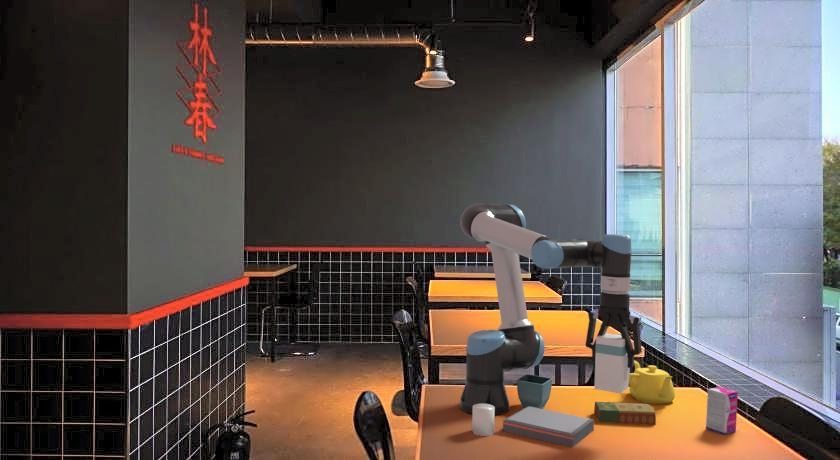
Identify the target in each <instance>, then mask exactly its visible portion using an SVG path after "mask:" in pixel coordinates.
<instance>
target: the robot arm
mask: <svg viewBox="0 0 840 460" xmlns="http://www.w3.org/2000/svg"><path fill="white" fill-rule="evenodd" d="M459 223H460V228H461V231H462V232H463V233H464V235H465V236H466V237H468V238H469V239H472V240H475V241H477V242H479V243H480V242H481V243H482V242H485V247H486V248H488V249H489V250H490V251H491V256H492V257H491V258H492V264H493V265H492V266H493V271H494V280H495V286H496V294H497V299H498V307H499V314H500V322H501V324H499V326H498V328H497V329H488V330H486V329H484V330H477V331H474V332H473V333H471V334H469V336H468V337H467V340H466V348H465V352H466V363H465V364H466V371H465V376H466V377H465V385H464V388H463V391H462V394H461V396H460V400H459V408H460V409H461V410H462V411H463V412H466V413H469V414H472V415H473V405H475V404H490V405H493V406H494V407H495V416H499V415H503V414H506V413H508V412H509V411H510V400H509V398H508V393H507V390H506V386H505V372H512V371H517V370H528V369H529V368H534V367H536V366H537V365H539V364H540V363H541V361H542V359H543V358H544V356H545V352H546V350H545V347H546V346H545V341H544V338H543V336H541V334H540V332H538V330H537V331H536V330H535V325H534V323H533V322H531V321H530V320H529V319H528V311H527V304H526V296H525V290H524V284H523V277H522V270H521V263H520V259H519V258H520V257H519V255H520V256H522V257H525V258H528V259H529V260H531V261H532V262H533V263H534V265H535V266H536V267H538V268H540V269H547V270H552V269H565V268H582V267H583V268H585V267H586V268H587V267H588V268H596V269H600V290H601V292H600V299H599V308H598V310H591V311H588V312H587V316H588V326H587V331H586V340H585V348H589V349H590V350H591V352H592V353H591V361H592V362H593V363H595V356H596V353H595V349H596V338H595V332H596V325H597V319H598V318H600V319H601V321H602V322H601V324H600V327H599V329H598V332H597V335H596V337H597V336H603V335H605V333H607V330H608V329H609V327H614V328H617V329H618V331H619V333H620V335H621V336H622V339H625V348H626V351H627V355H625V357H624V380H625V381H627V380H628V379H629V378H630V373H631V369H632V368H633V367H635V364H634V360H635V356H638V355H640V354H641V353H642V352H643V349H642V341H641V340H642V339H641V338H642V337H641V328H640V324H641V321H642V316H640V315H634V314H631V311H630V302H631V301H630V299H631V298H630V294H629V292H630V291H631V264H632V252H633V251H632V238H631V236H630V235H627V234H616V233H614V234H612V233H611V234H608V233H607V234H603V235H602V238H601V240H593V239H586V238H576V239H575V238H574V239H562V240H561V239H556V238H553V237H550V236H547V235H544V234H542V233H538V232H536V231H533V230H531V229H528V228H526V227H527V221H526V218H525V215H524V213H523V211H522V210H521V209H520V208H518V206H516V205H515V204H508V203H483V202H479V203H474V204H473V203H472V204H470V205H469V206H468V207H466V208H465V209H464V211H463V212H462V214H461V215H460V221H459ZM629 320H630V323H631V325H632V326H631V327H632V328H631V329H632V338H633V342H632V339H631V336H630V333H629V331H628V326H627V322H628V321H629ZM629 336H630V337H629ZM594 338H595V340H594Z"/></svg>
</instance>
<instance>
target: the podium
mask: <svg viewBox="0 0 840 460" xmlns="http://www.w3.org/2000/svg"><path fill="white" fill-rule="evenodd" d="M594 423H595V420H594V419H593V418H589V417H584V416H579V415H574V414H569V413H563V412H558V411H555V410H554V411H553V410H549V409H544V408H541V409H540V408H535V407H530V406H527V407H526V408H524V407H523V408H522V409H520V410H519V411H517V412H515V413H513V414H512V415H510V416H508V417H507V418H504V419H503V420H502V432H506V433H510V434H513V435H518V436H522V437H527V438H531V439H536V440H540V441H544V442H548V443H553V444H556V445H562V446H565V447H569V448H574V447H575V446H576V445H577V444H579V443H580V442H581V441H582V440H584V439H585V438H586V437H588V435H590V434H592V433H593V431H594V429H595V424H594Z"/></svg>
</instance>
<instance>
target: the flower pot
mask: <svg viewBox="0 0 840 460" xmlns="http://www.w3.org/2000/svg"><path fill="white" fill-rule="evenodd" d="M515 381H516V389H517V390H516V391H517V396H518V400H519V401H520V404H521V405H522V407H523V409H524V408H526V407H527V406H530V407H535V408H540V409H544V408H545V407H546V405H547V403H548V401H549V399H550V397H551V393H552V392H551V391H552V386H553V385H552V384H553V377H552V378H551V377H546V376H539V375H534V374H530V373H529V374H528V373H526V374H524V375H523V376H521V377H520V378H518V379H516V380H515Z"/></svg>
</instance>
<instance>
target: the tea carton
mask: <svg viewBox="0 0 840 460" xmlns="http://www.w3.org/2000/svg"><path fill="white" fill-rule="evenodd" d="M629 337H630V338H631V336H630V335H629ZM595 339H596V349H595V353H596V356H595V362H594V363H595V365H594V387H593V388H594V390H599V391H604V392H609V393H615V394H622V393H624V392H625V391H627V390H628V389H629V386H630V385H629V379H628V380H627V381H625V380H624V357H625V355H627V351H626V348H625V339H622V336H621V334H614V333H607V332H606V333H605V335H603V336H597V335H596V336H595Z"/></svg>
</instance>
